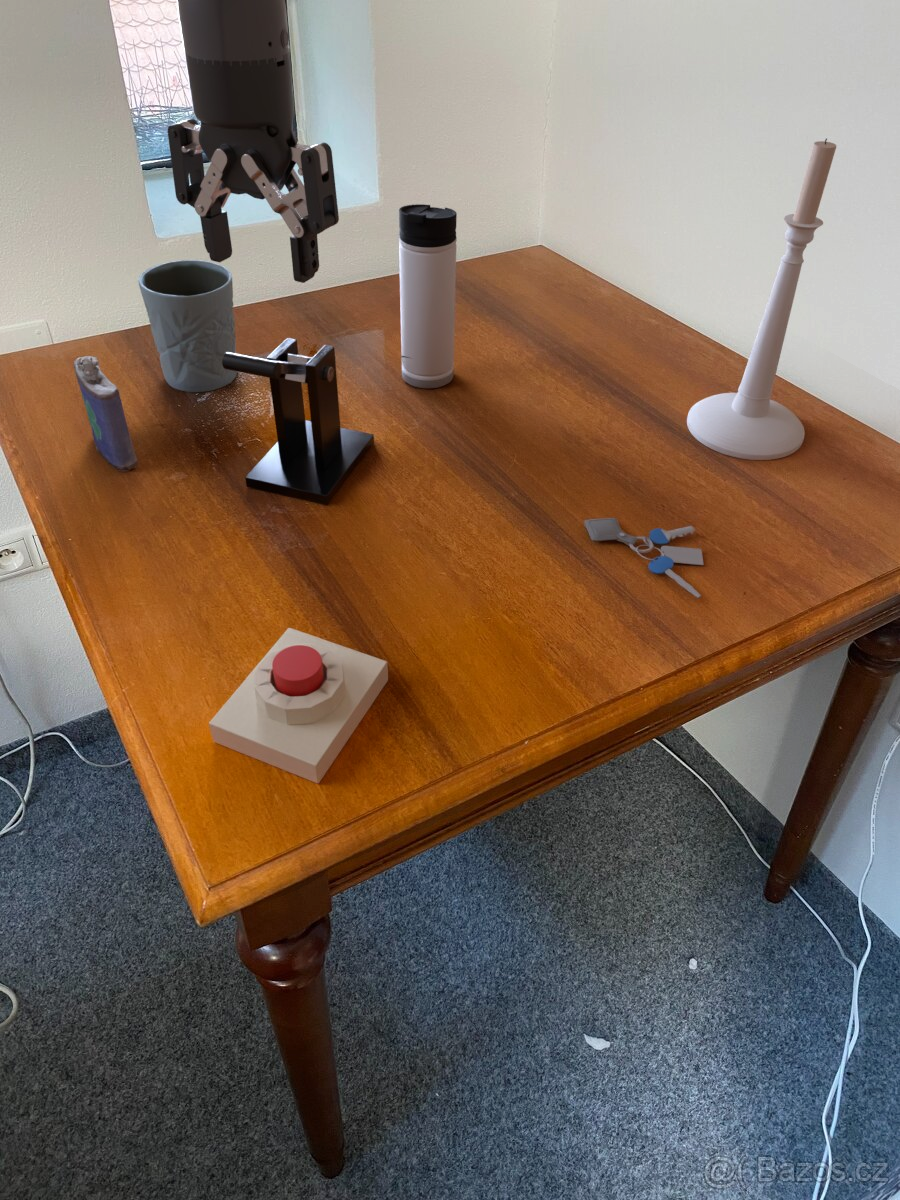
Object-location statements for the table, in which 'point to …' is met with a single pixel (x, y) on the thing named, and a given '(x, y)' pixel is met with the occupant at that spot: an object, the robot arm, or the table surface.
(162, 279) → the grey hollow tapered cylinder
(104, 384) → the blue squeeze pouch
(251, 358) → the lever
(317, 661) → the button
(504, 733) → the table surface
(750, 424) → the candlestick
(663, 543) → the key chain
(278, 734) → the button box
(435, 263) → the travel mug
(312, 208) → the robot arm
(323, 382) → the bracket
